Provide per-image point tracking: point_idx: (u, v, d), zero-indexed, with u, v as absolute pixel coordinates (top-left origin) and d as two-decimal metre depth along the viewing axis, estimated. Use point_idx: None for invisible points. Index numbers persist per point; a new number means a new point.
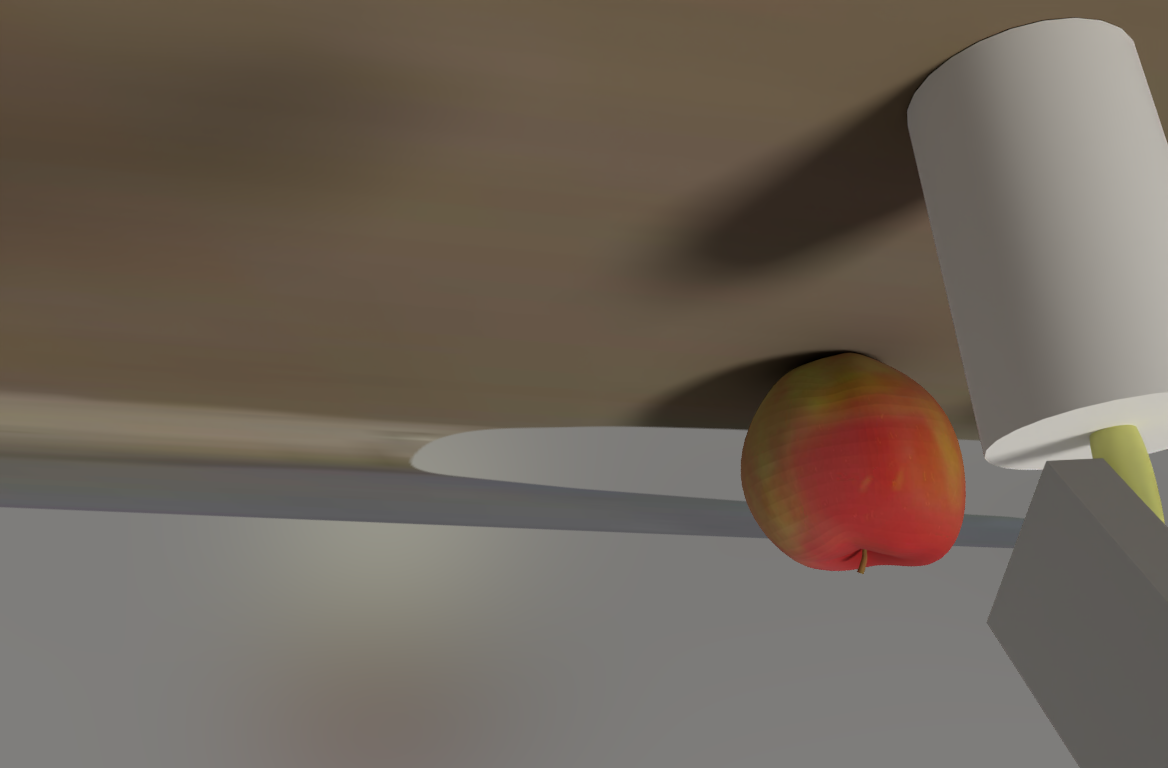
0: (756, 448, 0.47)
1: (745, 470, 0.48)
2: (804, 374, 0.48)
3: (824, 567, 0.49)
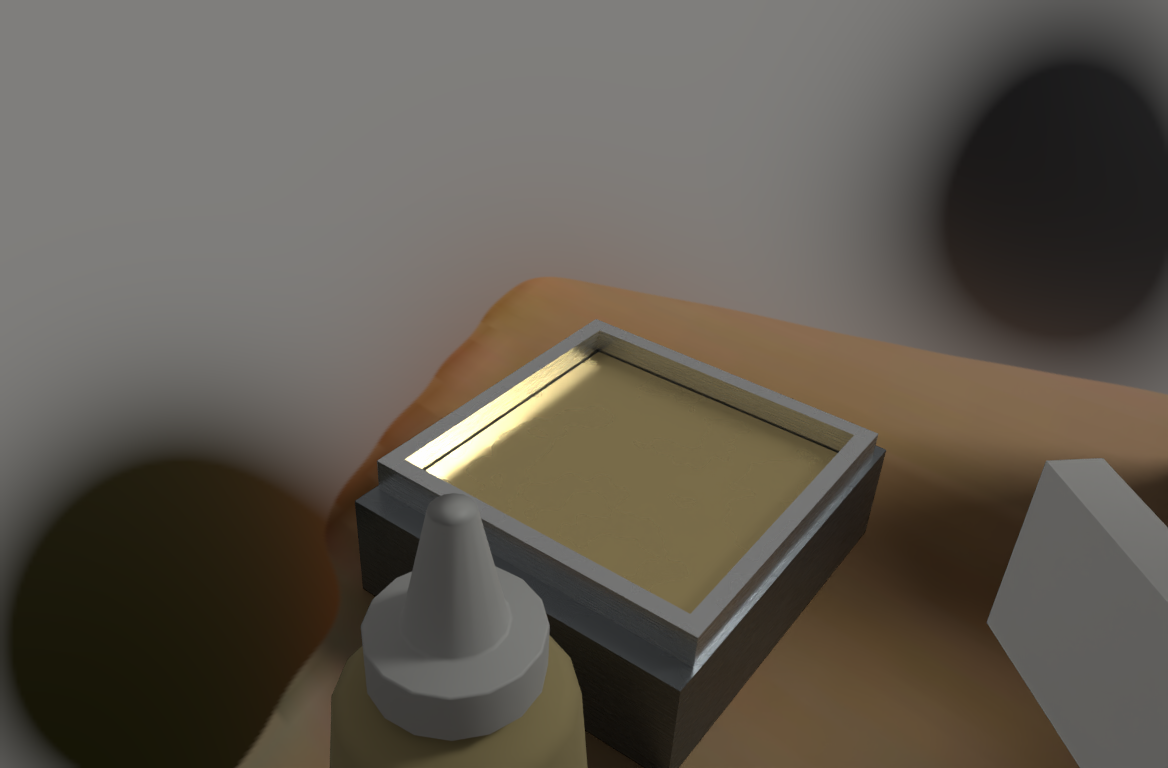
0: None
1: None
2: None
3: None
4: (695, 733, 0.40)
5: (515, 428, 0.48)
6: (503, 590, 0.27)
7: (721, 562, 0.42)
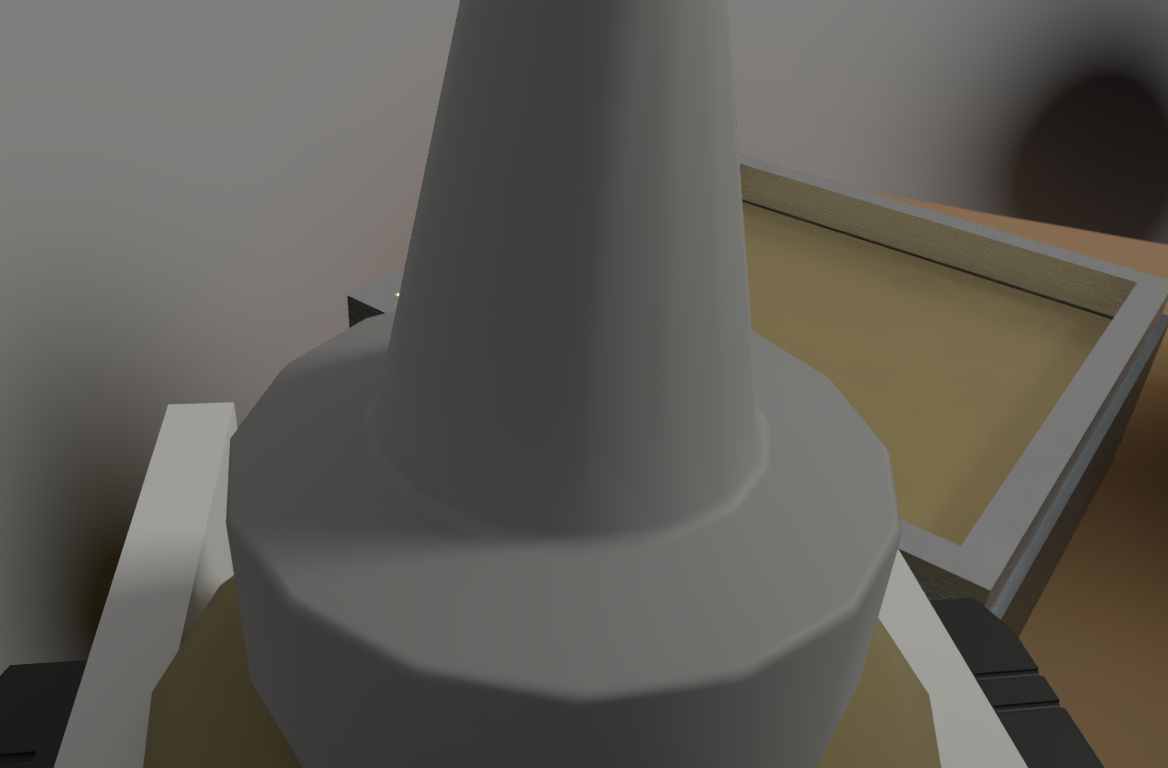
0: None
1: None
2: None
3: None
4: None
5: None
6: None
7: (968, 468, 0.23)
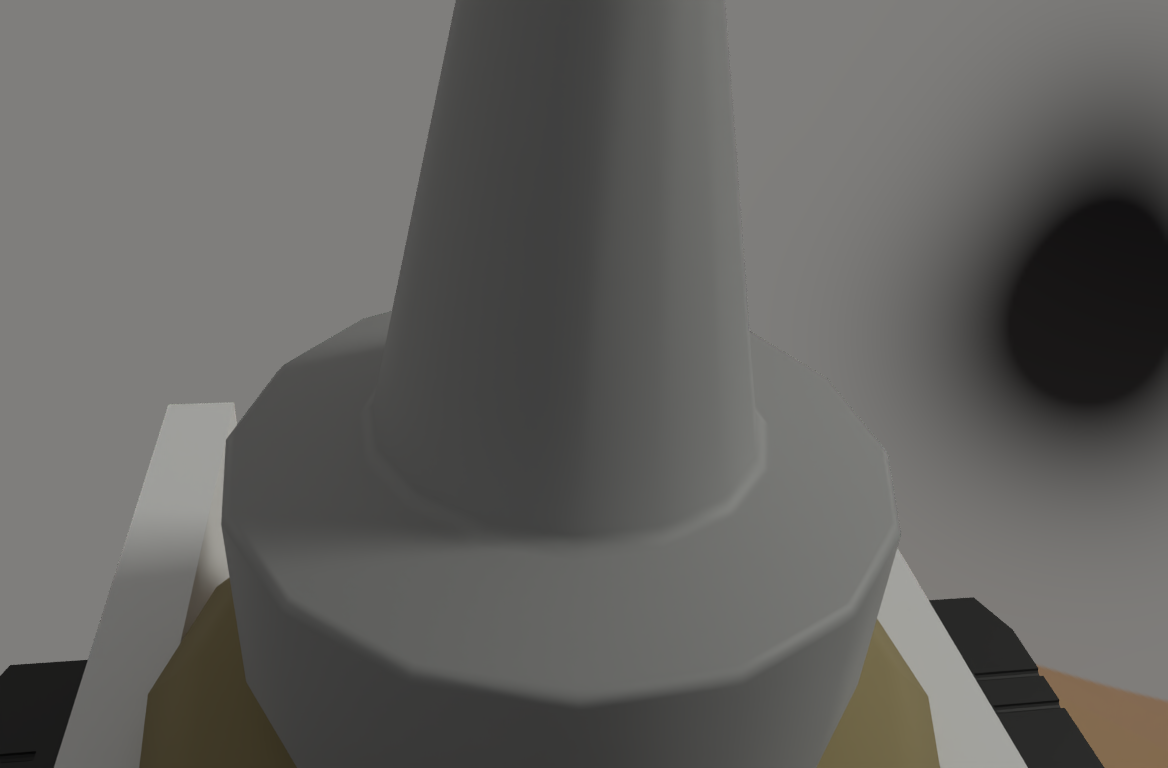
0: None
1: None
2: None
3: None
4: None
5: None
6: None
7: None
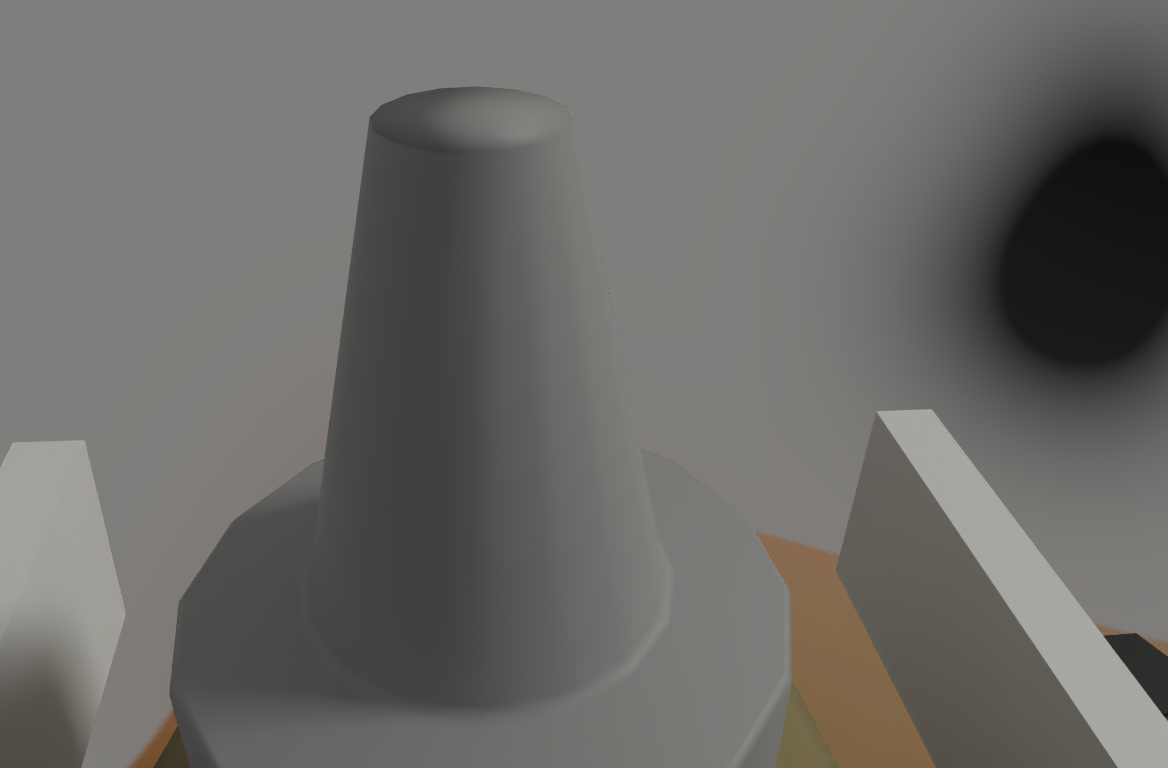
0: None
1: None
2: None
3: None
4: None
5: None
6: None
7: None
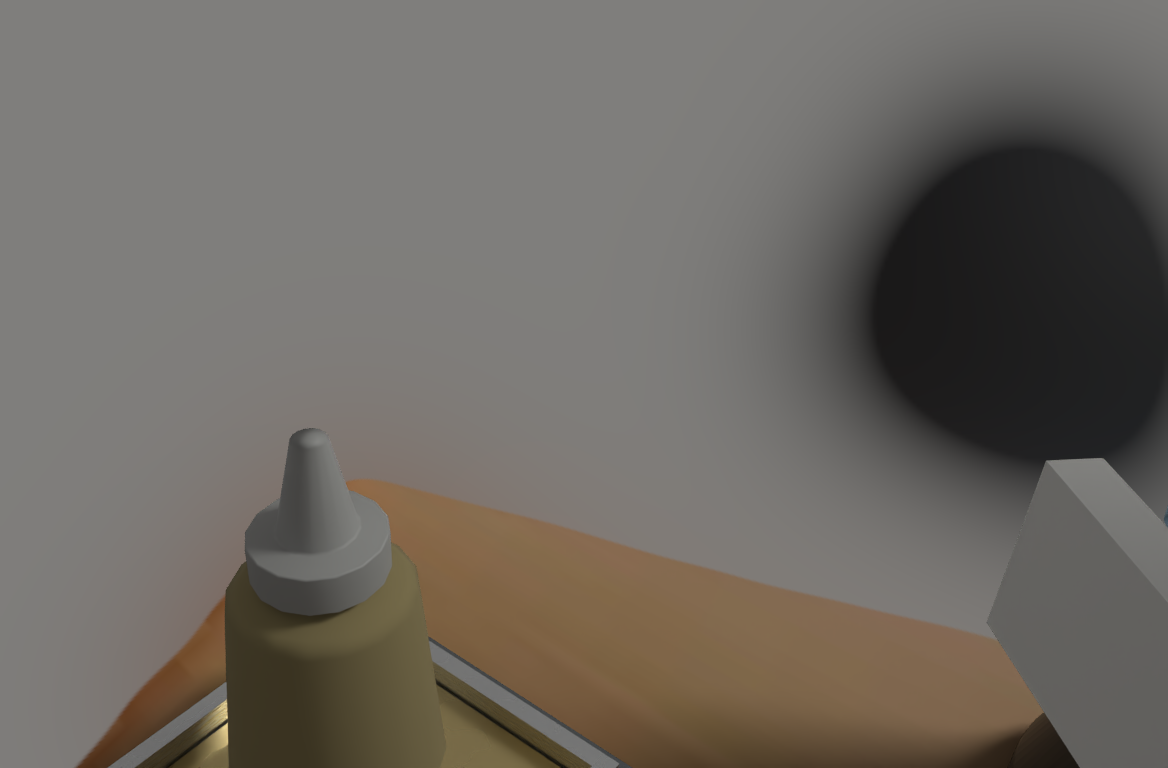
0: None
1: None
2: None
3: None
4: None
5: (227, 746, 0.44)
6: (358, 508, 0.35)
7: None
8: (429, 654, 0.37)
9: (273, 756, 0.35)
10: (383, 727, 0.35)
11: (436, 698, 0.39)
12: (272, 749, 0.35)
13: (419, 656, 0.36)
